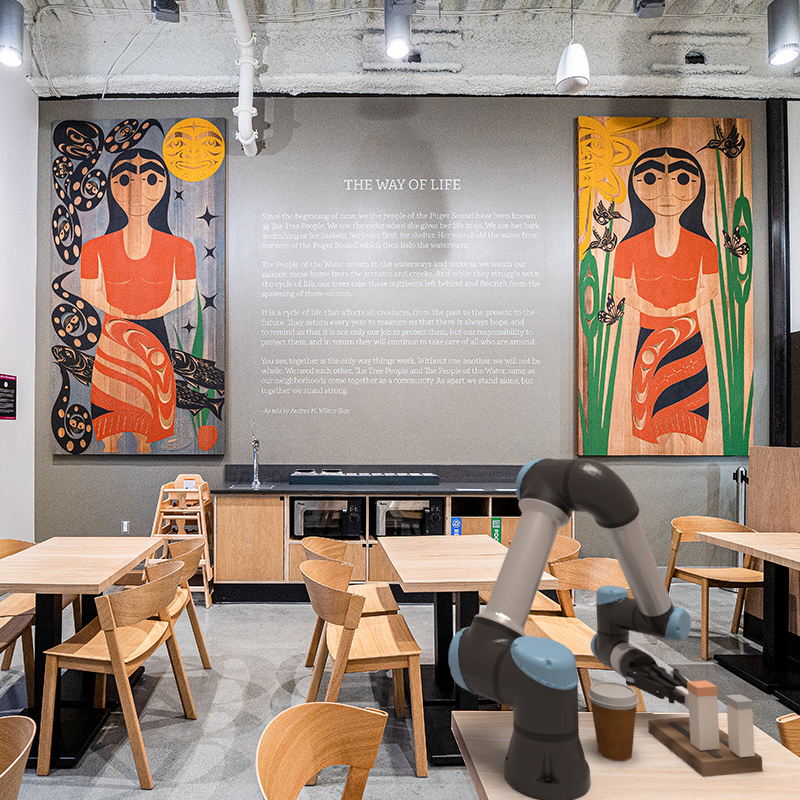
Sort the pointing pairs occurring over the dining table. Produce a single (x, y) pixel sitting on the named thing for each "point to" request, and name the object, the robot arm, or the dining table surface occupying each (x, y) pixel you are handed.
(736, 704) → the grey topped white block
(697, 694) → the orange topped beige block
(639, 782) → the dining table surface
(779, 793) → the dining table surface
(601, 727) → the disposable coffee cup
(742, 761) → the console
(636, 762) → the dining table surface
